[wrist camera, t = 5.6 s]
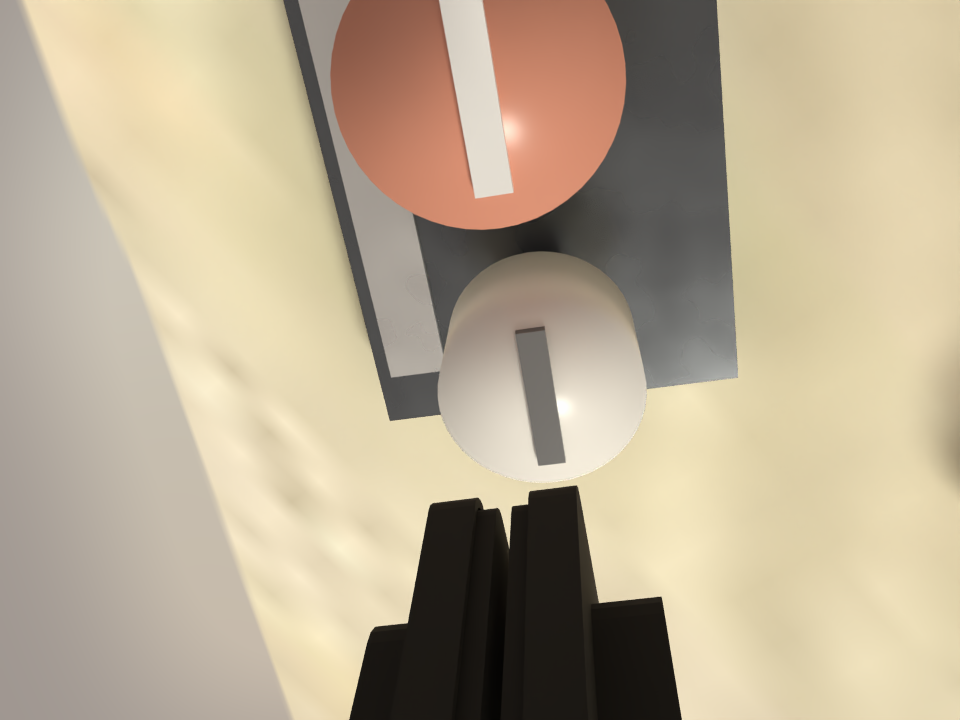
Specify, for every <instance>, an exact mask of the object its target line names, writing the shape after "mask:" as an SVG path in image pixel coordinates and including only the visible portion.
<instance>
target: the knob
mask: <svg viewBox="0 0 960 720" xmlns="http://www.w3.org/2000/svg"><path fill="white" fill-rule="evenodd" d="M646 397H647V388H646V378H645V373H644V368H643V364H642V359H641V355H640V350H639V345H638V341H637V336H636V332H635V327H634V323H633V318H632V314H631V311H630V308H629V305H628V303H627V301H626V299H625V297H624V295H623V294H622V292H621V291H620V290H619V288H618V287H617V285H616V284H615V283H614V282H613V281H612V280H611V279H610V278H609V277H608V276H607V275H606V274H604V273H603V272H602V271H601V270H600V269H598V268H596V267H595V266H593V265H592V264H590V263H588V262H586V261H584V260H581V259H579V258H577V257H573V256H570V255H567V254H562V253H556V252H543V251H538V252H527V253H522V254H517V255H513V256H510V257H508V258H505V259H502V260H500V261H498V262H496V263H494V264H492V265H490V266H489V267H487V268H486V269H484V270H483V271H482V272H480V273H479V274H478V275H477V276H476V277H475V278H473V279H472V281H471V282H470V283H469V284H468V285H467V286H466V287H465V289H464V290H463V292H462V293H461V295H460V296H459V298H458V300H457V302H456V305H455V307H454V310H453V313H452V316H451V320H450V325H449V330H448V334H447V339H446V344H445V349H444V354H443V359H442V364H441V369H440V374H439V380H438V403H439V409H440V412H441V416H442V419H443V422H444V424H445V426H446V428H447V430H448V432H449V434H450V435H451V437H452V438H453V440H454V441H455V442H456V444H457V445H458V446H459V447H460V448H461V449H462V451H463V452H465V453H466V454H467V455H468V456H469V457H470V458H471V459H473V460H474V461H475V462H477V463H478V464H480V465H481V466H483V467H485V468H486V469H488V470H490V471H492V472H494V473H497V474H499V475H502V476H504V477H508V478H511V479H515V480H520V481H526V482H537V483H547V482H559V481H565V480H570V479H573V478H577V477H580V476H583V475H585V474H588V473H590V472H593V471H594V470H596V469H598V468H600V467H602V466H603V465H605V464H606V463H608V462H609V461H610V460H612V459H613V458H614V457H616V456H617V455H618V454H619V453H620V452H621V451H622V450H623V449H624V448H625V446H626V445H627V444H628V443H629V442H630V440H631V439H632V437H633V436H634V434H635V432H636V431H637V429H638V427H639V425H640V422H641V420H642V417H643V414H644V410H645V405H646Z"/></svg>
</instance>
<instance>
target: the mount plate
mask: <svg viewBox="0 0 960 720" xmlns="http://www.w3.org/2000/svg"><path fill="white" fill-rule="evenodd" d="M349 1H350V0H284V4H285V8H286V12H287V16H288V20H289V24H290V28H291V32H292V36H293V40H294V44H295V48H296V52H297V56H298V60H299V64H300V68H301V71H302V75H303V79H304V83H305V87H306V91H307V95H308V99H309V103H310V107H311V111H312V115H313V119H314V123H315V127H316V131H317V135H318V139H319V143H320V147H321V151H322V154H323V158H324V162H325V166H326V170H327V174H328V178H329V182H330V186H331V190H332V194H333V198H334V202H335V206H336V210H337V214H338V218H339V222H340V226H341V230H342V233H343V237H344V241H345V245H346V249H347V253H348V257H349V261H350V265H351V269H352V273H353V277H354V281H355V285H356V289H357V293H358V297H359V301H360V305H361V309H362V312H363V316H364V320H365V324H366V328H367V332H368V336H369V340H370V344H371V348H372V352H373V356H374V360H375V364H376V368H377V372H378V376H379V380H380V384H381V388H382V392H383V395H384V399H385V403H386V407H387V411H388V415H389V419H390V421H393V420H401V419H409V418H417V417H425V416H433V415H441V412H440V409H439V403H438V380H439V374H440V369H441V364H442V359H443V354H444V349H445V344H446V339H447V334H448V330H449V325H450V320H451V316H452V313H453V310H454V307H455V305H456V302H457V300H458V298H459V296H460V295H461V293H462V292H463V290H464V289H465V287H466V286H467V285H468V284H469V283H470V282H471V281H472V279H473V278H475V277H476V276H477V275H478V274H479V273H480V272H482V271H483V270H484V269H486V268H487V267H489V266H490V265H492V264H494V263H496V262H498V261H500V260H502V259H505V258H508V257H510V256H513V255H517V254H522V253H527V252H538V251H543V252H556V253H562V254H567V255H570V256H573V257H577V258H579V259H581V260H584V261H586V262H588V263H590V264H592V265H593V266H595V267H596V268H598V269H600V270H601V271H602V272H603V273H604V274H606V275H607V276H608V277H609V278H610V279H611V280H612V281H613V282H614V283H615V284H616V285H617V287H618V288H619V290H620V291H621V292H622V294H623V295H624V297H625V299H626V301H627V303H628V305H629V308H630V311H631V314H632V318H633V323H634V327H635V332H636V336H637V341H638V345H639V350H640V355H641V359H642V364H643V368H644V373H645V378H646V388H647V389H651V388H659V387H667V386H675V385H683V384H691V383H699V382H707V381H715V380H723V379H731V378H738V367H737V349H736V332H735V314H734V297H733V279H732V262H731V245H730V227H729V210H728V192H727V175H726V157H725V140H724V122H723V105H722V87H721V70H720V52H719V35H718V18H717V0H605V2H606V3H607V5H608V7H609V9H610V12H611V14H612V16H613V18H614V20H615V23H616V25H617V29H618V32H619V35H620V38H621V42H622V46H623V52H624V58H625V68H626V90H625V101H624V107H623V111H622V116H621V120H620V124H619V127H618V129H617V132H616V135H615V138H614V141H613V143H612V145H611V147H610V148H609V150H608V152H607V154H606V156H605V158H604V160H603V161H602V163H601V164H600V166H599V167H598V168H597V170H596V171H595V173H594V174H593V175H592V176H591V178H590V179H589V180H588V181H587V182H586V183H585V184H584V185H583V187H582V188H581V189H579V190H578V191H577V192H576V193H575V194H574V195H573V196H571V197H570V198H569V199H568V200H567V201H565V202H564V203H562V204H561V205H559V206H558V207H556V208H555V209H553V210H552V211H550V212H548V213H546V214H544V215H542V216H540V217H538V218H535V219H533V220H530V221H527V222H524V223H521V224H518V225H514V226H509V227H504V228H497V229H486V230H478V229H462V228H456V227H450V226H446V225H442V224H439V223H436V222H432V221H429V220H427V219H425V218H422V217H420V216H418V215H415V214H413V213H412V212H410V211H408V210H407V209H405V208H403V207H401V206H400V205H398V204H397V203H395V202H394V201H393V200H392V199H390V198H389V197H388V196H386V195H385V194H384V193H383V192H382V191H381V190H380V189H379V188H378V187H377V186H376V185H375V184H374V183H373V182H371V181H370V179H369V178H368V177H367V176H366V174H365V173H364V172H363V171H362V169H361V168H360V167H359V165H358V164H357V162H356V161H355V159H354V157H353V156H352V154H351V152H350V151H349V149H348V147H347V145H346V143H345V140H344V138H343V136H342V134H341V131H340V128H339V125H338V122H337V119H336V115H335V112H334V106H333V100H332V95H331V79H330V71H331V58H332V50H333V46H334V41H335V36H336V32H337V30H338V27H339V24H340V21H341V18H342V15H343V13H344V11H345V9H346V7H347V5H348V3H349Z"/></svg>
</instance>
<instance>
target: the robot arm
mask: <svg viewBox="0 0 960 720" xmlns="http://www.w3.org/2000/svg"><path fill="white" fill-rule="evenodd" d="M349 720H682V718H681V712H680V706H679V700H678V694H677V688H676V681H675V675H674V669H673V663H672V657H671V651H670V645H669V639H668V632H667V626H666V620H665V614H664V608H663V602H662V597H654V598H644V599H635V600H625V601H616V602H606V603H599V601H598V596H597V590H596V584H595V579H594V573H593V568H592V562H591V556H590V551H589V545H588V540H587V534H586V528H585V523H584V517H583V511H582V506H581V500H580V495H579V491H578V487H577V486H569V487H561V488H553V489H545V490H537V491H530V492H529V497H528V505H520V506H513V507H512V512H511V530H510V549H509V546H508V542H507V537H506V533H505V529H504V524H503V520H502V516H501V513H500V510H499V509H498V508H495V509H487V510H484V509H483V505H482V503H481V501H480V499H479V498H472V499H464V500H456V501H448V502H440V503H432V504H431V505H430V508H429V511H428V517H427V522H426V528H425V533H424V539H423V544H422V549H421V555H420V560H419V566H418V571H417V576H416V582H415V587H414V593H413V598H412V604H411V609H410V614H409V620H408V623H407V624H397V625H388V626H378V627H375V628H374V629H373V630H372V632H371V633H370V636H369V639H368V642H367V646H366V650H365V655H364V659H363V663H362V667H361V672H360V676H359V680H358V685H357V689H356V693H355V697H354V702H353V706H352V710H351V715H350V719H349Z"/></svg>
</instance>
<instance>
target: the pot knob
mask: <svg viewBox="0 0 960 720" xmlns="http://www.w3.org/2000/svg"><path fill="white" fill-rule="evenodd" d="M330 79H331V95H332V100H333V106H334V112H335V115H336V119H337V122H338V125H339V128H340V131H341V134H342V136H343V138H344V140H345V143H346V145H347V147H348V149H349V151H350V152H351V154H352V156H353V157H354V159H355V161H356V162H357V164H358V165H359V167H360V168H361V169H362V171H363V172H364V173H365V174H366V176H367V177H368V178H369V179H370V181H371V182H373V183H374V184H375V185H376V186H377V187H378V188H379V189H380V190H381V191H382V192H383V193H384V194H385V195H386V196H388V197H389V198H390V199H392V200H393V201H394V202H395V203H397V204H398V205H400V206H401V207H403V208H405V209H407V210H408V211H410V212H412V213H413V214H415V215H418V216H420V217H422V218H425V219H427V220H429V221H432V222H436V223H439V224H442V225H446V226H450V227H456V228H462V229H478V230H486V229H497V228H504V227H509V226H514V225H518V224H521V223H524V222H527V221H530V220H533V219H535V218H538V217H540V216H542V215H544V214H546V213H548V212H550V211H552V210H553V209H555V208H556V207H558V206H559V205H561V204H562V203H564V202H565V201H567V200H568V199H569V198H570V197H571V196H573V195H574V194H575V193H576V192H577V191H578V190H579V189H581V188H582V187H583V185H584V184H585V183H586V182H587V181H588V180H589V179H590V178H591V176H592V175H593V174H594V173H595V171H596V170H597V168H598V167H599V166H600V164H601V163H602V161H603V160H604V158H605V156H606V154H607V152H608V150H609V148H610V147H611V145H612V143H613V141H614V138H615V135H616V132H617V129H618V127H619V124H620V120H621V116H622V111H623V107H624V101H625V90H626V68H625V58H624V52H623V46H622V42H621V38H620V35H619V32H618V29H617V25H616V23H615V20H614V18H613V16H612V14H611V12H610V9H609V7H608V5H607V3H606V2H605V0H350V1H349V3H348V5H347V7H346V9H345V11H344V13H343V15H342V18H341V21H340V24H339V27H338V30H337V32H336V36H335V41H334V46H333V50H332V58H331V71H330Z"/></svg>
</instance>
